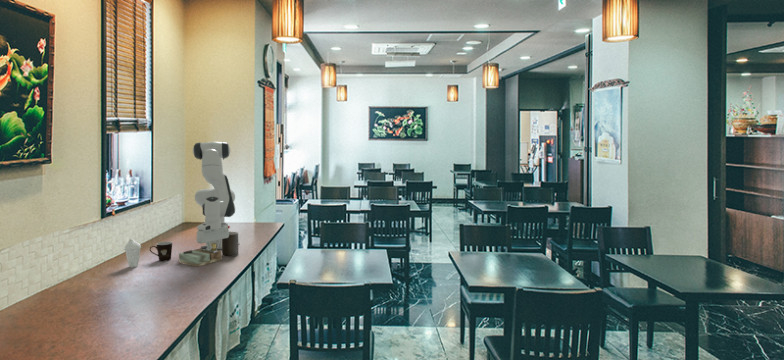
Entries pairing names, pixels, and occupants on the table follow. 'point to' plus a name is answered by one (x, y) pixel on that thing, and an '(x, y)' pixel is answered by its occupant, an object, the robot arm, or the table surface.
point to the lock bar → (209, 249)
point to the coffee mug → (163, 250)
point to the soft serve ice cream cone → (132, 252)
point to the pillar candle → (230, 245)
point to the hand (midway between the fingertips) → (213, 248)
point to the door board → (199, 257)
